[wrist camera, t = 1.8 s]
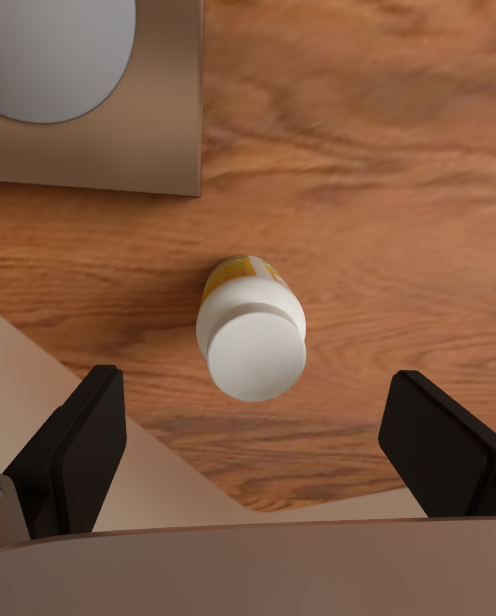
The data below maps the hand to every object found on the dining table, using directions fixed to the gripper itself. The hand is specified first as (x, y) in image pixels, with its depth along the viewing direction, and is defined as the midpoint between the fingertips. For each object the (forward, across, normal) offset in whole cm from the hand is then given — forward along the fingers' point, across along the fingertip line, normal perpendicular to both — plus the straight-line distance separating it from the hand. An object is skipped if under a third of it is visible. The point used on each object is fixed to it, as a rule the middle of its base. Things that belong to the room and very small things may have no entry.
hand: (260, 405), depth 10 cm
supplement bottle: (+12, 0, -1) cm, 12 cm away
